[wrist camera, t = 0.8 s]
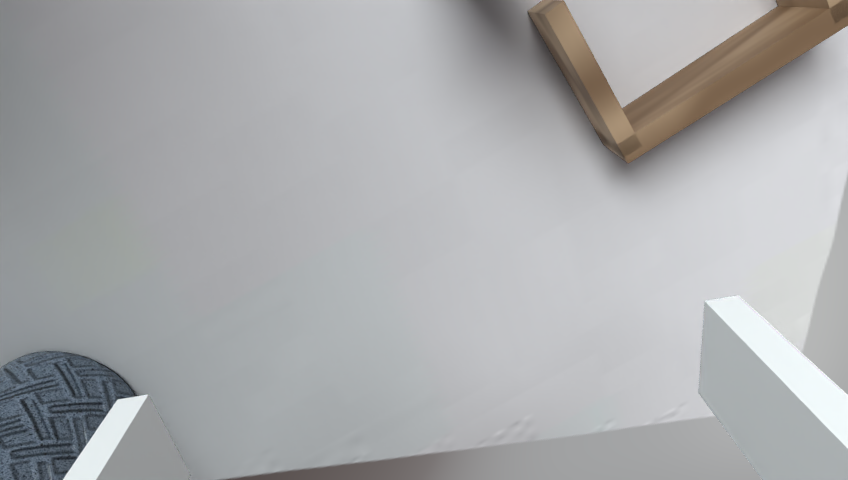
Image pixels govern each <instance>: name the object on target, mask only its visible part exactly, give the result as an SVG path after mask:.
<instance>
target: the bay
mask: <svg viewBox="0 0 848 480" xmlns="http://www.w3.org/2000/svg"><path fill="white" fill-rule="evenodd" d="M776 2H777V5H778V7H776V8H775V9H773V10H772V11H770V12H769V13H767V14H765V15H764V16H762V17H761V18H759V19H758V20H756V21H755V22H753V23H752V24H750V25H749V26H747V27H746V28H744V29H743V30H741V31H740V32H738V33H737V34H735V35H733V36H732V37H730V38H729V39H727V40H726V41H724V42H723V43H721V44H720V45H718V46H717V47H715V48H714V49H712V50H711V51H709V52H708V53H706V54H705V55H703V56H702V57H700V58H698V59H697V60H695V61H694V62H692V63H691V64H689V65H688V66H686V67H685V68H683V69H682V70H680V71H679V72H677V73H676V74H674V75H673V76H671V77H670V78H668V79H666V80H665V81H663V82H662V83H660V84H659V85H657V86H656V87H654V88H653V89H651V90H650V91H648V92H647V93H645V94H644V95H642V96H641V97H639V98H638V99H636V100H634V101H633V102H631V103H630V104H628V105H627V106H625V107H624V108H621V106H620V104H619V102H618V101H617V99H616V97H615V95H614V93H613V91H612V89H611V88H610V86H609V84H608V82H607V80H606V78H605V76H604V74H603V73H602V71H601V69H600V67H599V65H598V63H597V61H596V60H595V58H594V56H593V54H592V52H591V50H590V48H589V47H588V45H587V43H586V41H585V39H584V37H583V35H582V34H581V32H580V30H579V28H578V26H577V24H576V22H575V21H574V19H573V17H572V15H571V13H570V11H569V9H568V8H567V6H566V4H565V2H564V0H542V1H541V2H540V3H538V4H537V5H536V6H534V7H533V8H531V9H530V10H529V11H527V12H528V13H529V15H530V17H531V19H532V20H533V22H534V24H535V26H536V27H537V29H538V31H539V33H540V34H541V36H542V38H543V40H544V41H545V43H546V45H547V47H548V48H549V50H550V52H551V54H552V55H553V57H554V59H555V61H556V62H557V64H558V66H559V68H560V69H561V71H562V73H563V75H564V76H565V78H566V80H567V82H568V83H569V85H570V87H571V89H572V90H573V92H574V94H575V96H576V97H577V99H578V101H579V103H580V105H581V106H582V108H583V110H584V112H585V113H586V115H587V117H588V119H589V120H590V122H591V124H592V126H593V127H594V129H595V131H596V133H597V134H598V136H599V138H600V140H601V141H602V143H603V145H604V146H606V147H607V148H608V149H610V150H611V151H612V152H614V153H615V154H616V155H617V156H619V157H620V158H621V159H623V160H624V161H625V162H626V163H630V162H632V161H633V160H635V159H636V158H638V157H639V156H641V155H643V154H644V153H646V152H647V151H649V150H651V149H652V148H654V147H655V146H657V145H659V144H660V143H662V142H663V141H665V140H667V139H668V138H670V137H671V136H673V135H674V134H676V133H678V132H679V131H681V130H682V129H684V128H686V127H687V126H689V125H690V124H692V123H694V122H695V121H697V120H698V119H700V118H701V117H703V116H705V115H706V114H708V113H709V112H711V111H713V110H714V109H716V108H717V107H719V106H721V105H722V104H724V103H725V102H727V101H729V100H730V99H732V98H733V97H735V96H736V95H738V94H740V93H741V92H743V91H744V90H746V89H748V88H749V87H751V86H752V85H754V84H756V83H757V82H759V81H760V80H762V79H763V78H765V77H767V76H768V75H770V74H771V73H773V72H775V71H776V70H778V69H779V68H781V67H783V66H784V65H786V64H787V63H789V62H790V61H792V60H794V59H795V58H797V57H798V56H800V55H802V54H803V53H805V52H806V51H808V50H810V49H811V48H813V47H814V46H816V45H818V44H819V43H821V42H822V41H824V40H825V39H827V38H829V37H830V36H832V35H833V34H835V33H837V32H838V31H840V30H841V29H843V28H845V27H846V26H848V0H776Z"/></svg>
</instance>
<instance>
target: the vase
mask: <svg viewBox="0 0 848 480" xmlns="http://www.w3.org/2000/svg"><path fill="white" fill-rule="evenodd" d="M130 397H135V395H134V393H133V392H132V390H131V389H130V388H129V386H128V385H127V384H126V383H125V382H124V381H123V380H122V379H121V378H120V377H119V376H118V375H117V374H115V373H114V372H113V371H111V370H110V369H108V368H107V367H105V366H103V365H101V364H99V363H97V362H95V361H93V360H91V359H88V358H85V357H82V356H79V355H75V354H71V353H65V352H54V351H47V352H36V353H31V354H28V355H24V356H22V357H19V358H17V359H15V360H13V361H11V362H9V363H7V364H6V365H4V366H3V367H1V368H0V480H63V479H64V477H65V476H66V474H67V473H68V471H69V470H70V468H71V467H72V466H73V464H74V463H75V461H76V460H77V458H78V457H79V455H80V454H81V452H82V451H83V449H84V448H85V446H86V445H87V444H88V442H89V441H90V439H91V438H92V436H93V435H94V433H95V432H96V430H97V429H98V427H99V426H100V424H101V423H102V421H103V420H104V419H105V417H106V416H107V414H108V413H109V411H110V410H111V408H112V407H113V405H114V404H115V402H116V401H117V400H118V399H124V398H130Z"/></svg>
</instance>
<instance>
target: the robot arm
mask: <svg viewBox="0 0 848 480" xmlns="http://www.w3.org/2000/svg"><path fill="white" fill-rule="evenodd" d="M698 393H699V395H700V396H701V397H702V399H703V400H704V401H705V403H706V404H707V405H708V407H709V408H710V410H711V411H712V412H713V414H714V415H715V416H716V418H717V419H718V420H719V422H720V423H721V424H722V426H723V427H724V428H725V430H726V431H727V433H728V434H729V435H730V437H731V438H732V440H733V441H734V442H735V444H736V445H737V446H738V448H739V449H740V450H741V452H742V453H743V454H744V456H745V457H746V459H747V460H748V461H749V463H750V464H751V465H752V467H753V468H754V469H755V471H756V472H757V474H758V475H759V476H760V478H761V479H762V480H848V395H847V394H846V393H845V392H844V391H843V390H842V389H841V388H839V387H838V386H837V385H836V384H835V383H834V382H833V381H832V380H831V379H830V378H829V377H827V376H826V375H825V374H824V373H823V372H822V371H821V370H820V369H819V368H817V367H816V366H815V365H814V364H813V363H812V362H811V361H810V360H809V359H808V358H807V357H806V356H804V355H803V354H802V353H801V352H800V351H799V350H798V349H797V348H796V347H795V346H794V345H792V344H791V343H790V342H789V341H788V340H787V339H786V338H785V337H784V336H783V335H781V334H780V333H779V332H778V331H777V330H776V329H775V328H774V327H773V326H772V325H771V324H769V323H768V322H767V321H766V320H765V319H764V318H763V317H762V316H761V315H760V314H758V313H757V312H756V311H755V310H754V309H753V308H752V307H751V306H750V305H749V304H748V303H746V302H745V301H744V300H743V299H742V298H741V297H740V296H739V295H737V296H731V297H725V298H719V299H713V300H707V301H705V302H704V317H703V331H702V345H701V360H700V374H699V389H698ZM190 476H191V474H190V472H189V471H188V469H187V467H186V465H185V463H184V461H183V459H182V457H181V455H180V453H179V452H178V450H177V448H176V446H175V444H174V442H173V440H172V438H171V436H170V434H169V432H168V431H167V429H166V427H165V425H164V423H163V421H162V419H161V417H160V415H159V413H158V412H157V410H156V408H155V406H154V404H153V402H152V400H151V398H150V396H149V394H148V395H142V396H136V397H130V398H124V399H118V400H117V401H116V402H115V404H114V405H113V407H112V408H111V410H110V411H109V413H108V414H107V416H106V417H105V419H104V420H103V421H102V423H101V424H100V426H99V427H98V429H97V430H96V432H95V433H94V435H93V436H92V438H91V439H90V441H89V442H88V444H87V445H86V446H85V448H84V449H83V451H82V452H81V454H80V455H79V457H78V458H77V460H76V461H75V463H74V464H73V466H72V467H71V468H70V470H69V471H68V473H67V474H66V476H65V477H64V479H63V480H189V478H190Z"/></svg>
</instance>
